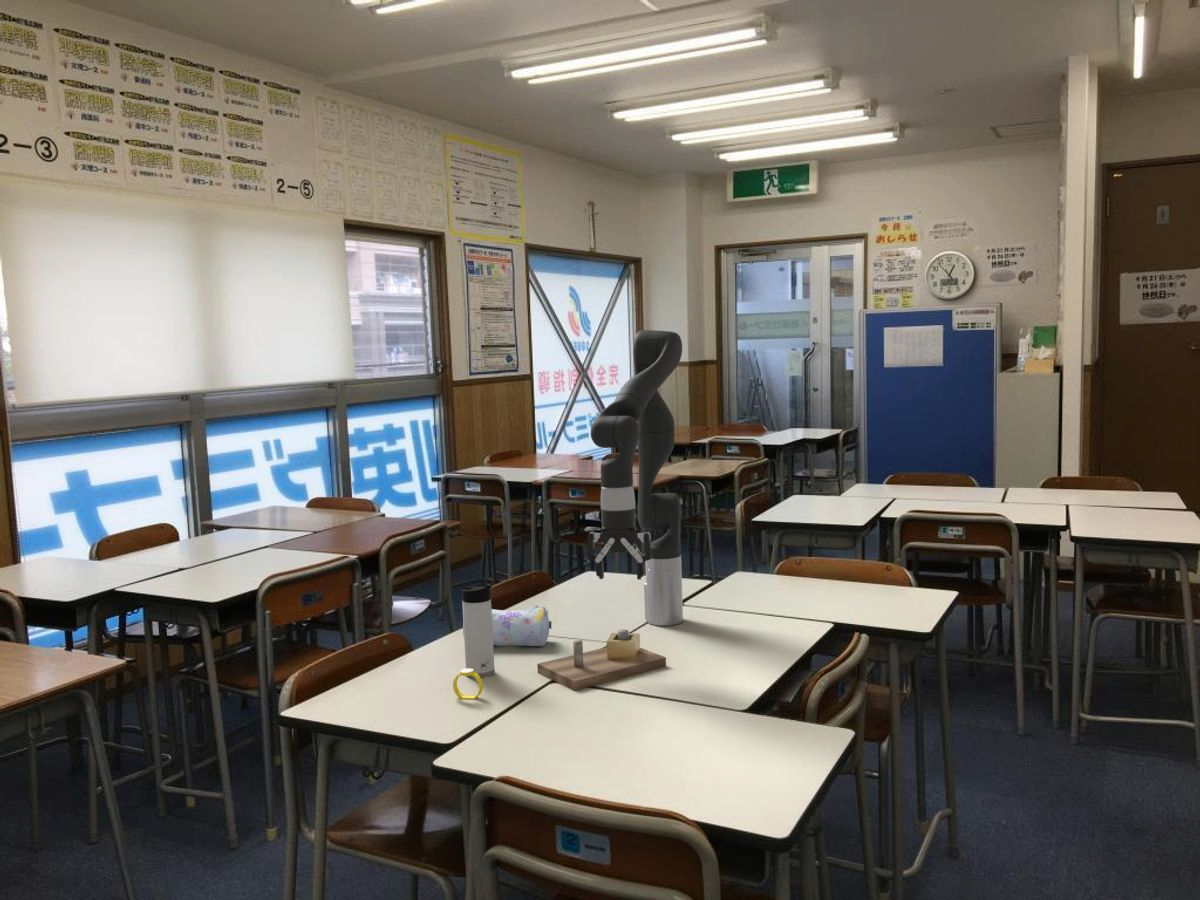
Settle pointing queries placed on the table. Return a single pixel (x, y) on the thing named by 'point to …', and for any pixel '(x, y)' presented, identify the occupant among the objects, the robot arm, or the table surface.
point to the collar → (623, 647)
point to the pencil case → (520, 627)
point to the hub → (623, 634)
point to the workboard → (596, 667)
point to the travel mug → (478, 629)
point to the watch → (465, 673)
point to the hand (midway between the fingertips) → (620, 578)
